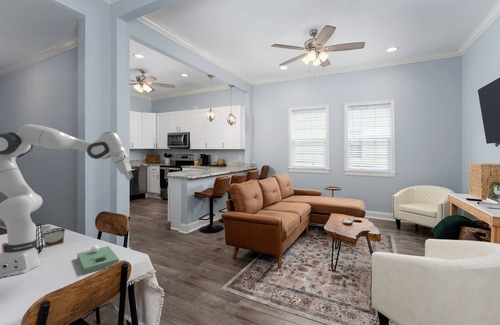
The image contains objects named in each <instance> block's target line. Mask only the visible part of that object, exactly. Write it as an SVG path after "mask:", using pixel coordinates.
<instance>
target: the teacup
mask: <svg viewBox="0 0 500 325" xmlns="http://www.w3.org/2000/svg"><path fill="white" fill-rule="evenodd" d="M40 226H41V229H42V234H43V232H44V231H46V230H49V229H52V227H51V225H40ZM42 238H43V239H42V240H44V236H42Z"/></svg>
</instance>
